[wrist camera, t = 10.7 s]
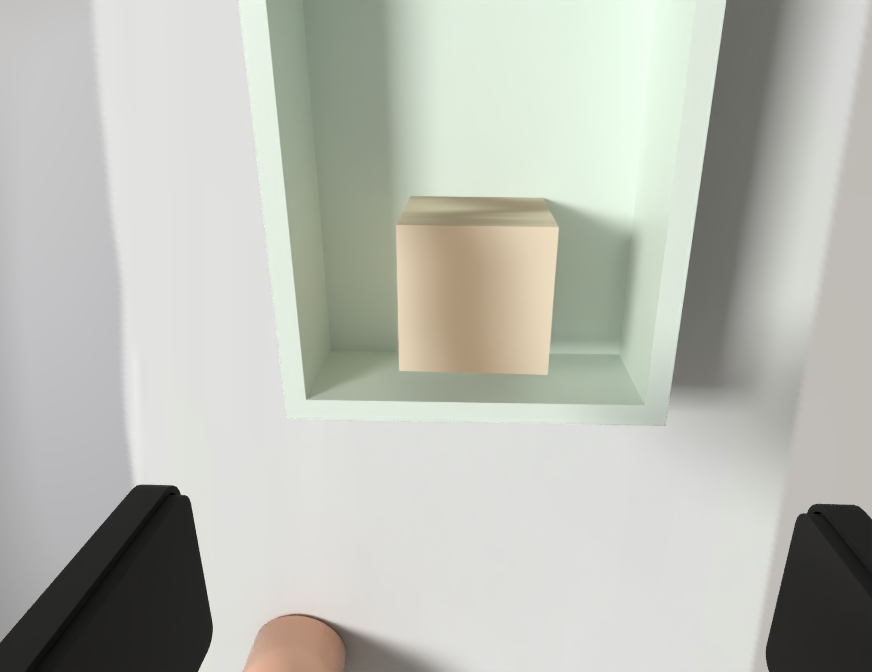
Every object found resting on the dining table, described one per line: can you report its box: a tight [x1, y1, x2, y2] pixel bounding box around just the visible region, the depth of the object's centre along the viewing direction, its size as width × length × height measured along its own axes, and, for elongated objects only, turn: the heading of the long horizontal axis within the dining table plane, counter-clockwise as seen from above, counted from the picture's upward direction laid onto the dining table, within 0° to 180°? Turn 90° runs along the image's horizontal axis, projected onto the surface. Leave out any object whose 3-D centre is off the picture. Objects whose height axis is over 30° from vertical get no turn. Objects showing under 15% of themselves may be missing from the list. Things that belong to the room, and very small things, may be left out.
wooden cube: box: [396, 196, 559, 375], centre depth 23 cm, size 5×5×5 cm
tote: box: [238, 0, 726, 426], centre depth 22 cm, size 18×14×5 cm
